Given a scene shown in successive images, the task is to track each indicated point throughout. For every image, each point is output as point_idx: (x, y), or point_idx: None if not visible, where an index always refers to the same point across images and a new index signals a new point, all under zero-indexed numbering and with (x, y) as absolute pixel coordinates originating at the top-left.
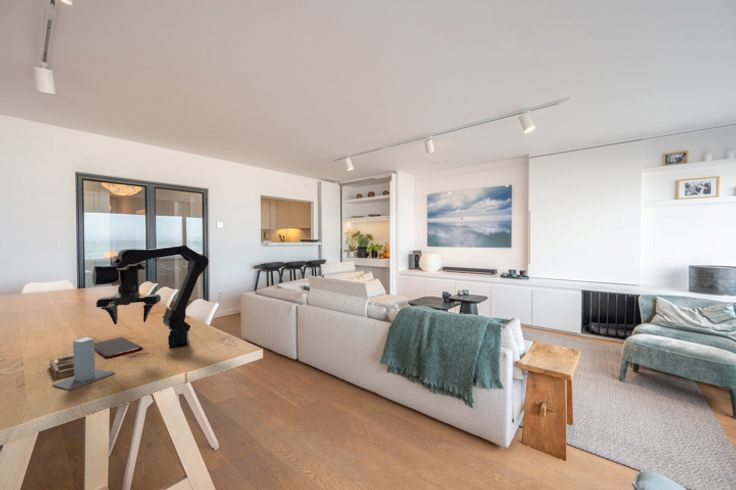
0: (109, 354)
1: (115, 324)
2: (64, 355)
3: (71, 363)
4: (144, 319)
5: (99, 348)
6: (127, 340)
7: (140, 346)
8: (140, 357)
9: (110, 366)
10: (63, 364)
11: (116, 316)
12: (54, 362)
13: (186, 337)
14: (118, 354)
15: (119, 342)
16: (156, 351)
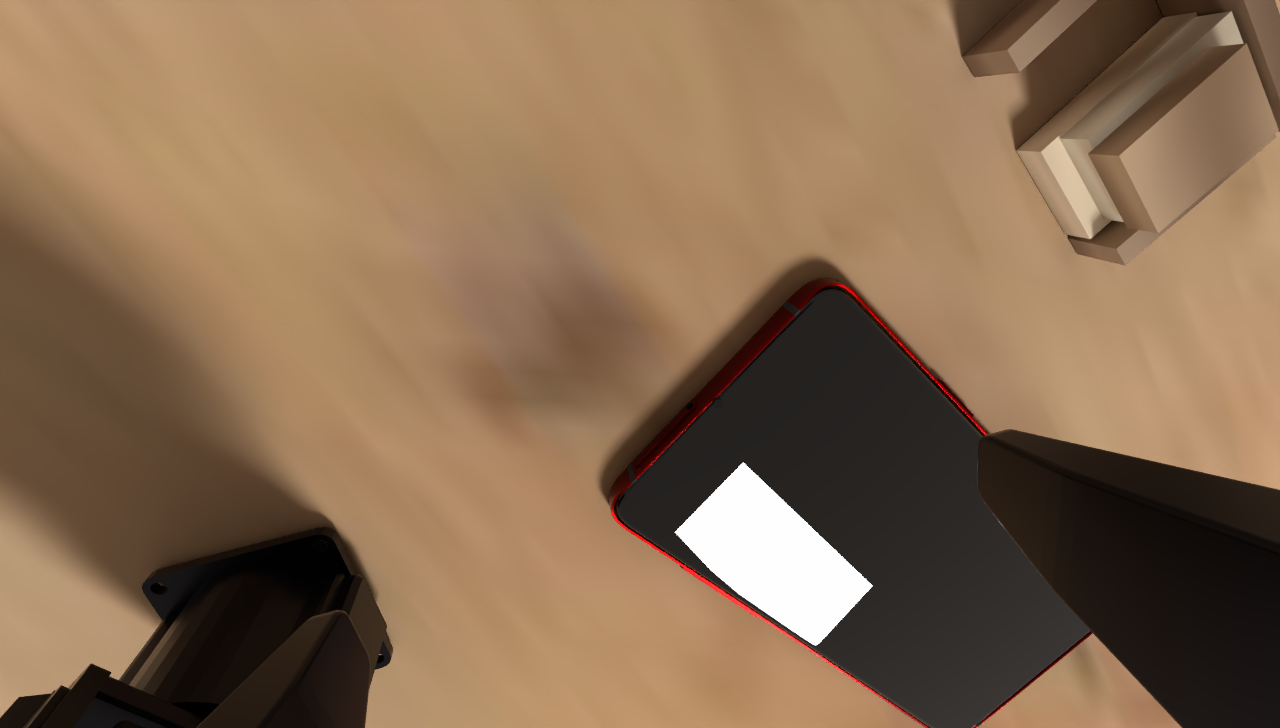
0: (836, 329)
1: (988, 440)
2: (1231, 161)
3: None
4: (277, 673)
5: None
6: (868, 675)
7: (648, 532)
8: (475, 275)
9: (652, 16)
10: (1143, 61)
11: (1165, 641)
12: (1250, 6)
13: (119, 680)
14: (754, 344)
15: (911, 632)
16: (413, 442)
